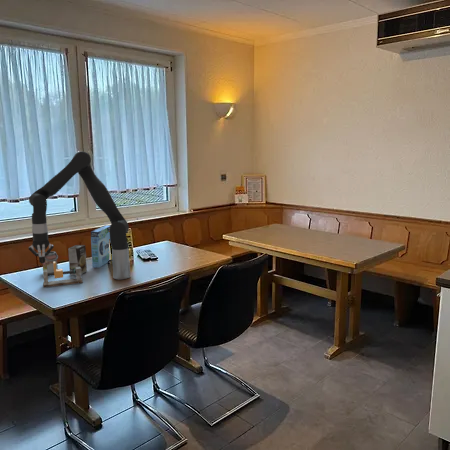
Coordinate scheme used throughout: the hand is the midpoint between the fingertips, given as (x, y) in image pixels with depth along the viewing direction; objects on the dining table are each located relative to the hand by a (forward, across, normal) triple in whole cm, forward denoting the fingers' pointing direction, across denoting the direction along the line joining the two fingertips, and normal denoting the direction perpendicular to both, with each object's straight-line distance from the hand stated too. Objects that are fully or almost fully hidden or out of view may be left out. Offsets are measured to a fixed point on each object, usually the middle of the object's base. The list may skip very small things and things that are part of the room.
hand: (42, 263), depth 234 cm
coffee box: (+13, -19, -17) cm, 28 cm away
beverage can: (+13, -4, -24) cm, 27 cm away
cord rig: (+13, -10, 0) cm, 16 cm away
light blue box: (+13, -35, -32) cm, 49 cm away
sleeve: (+9, -8, 0) cm, 12 cm away
